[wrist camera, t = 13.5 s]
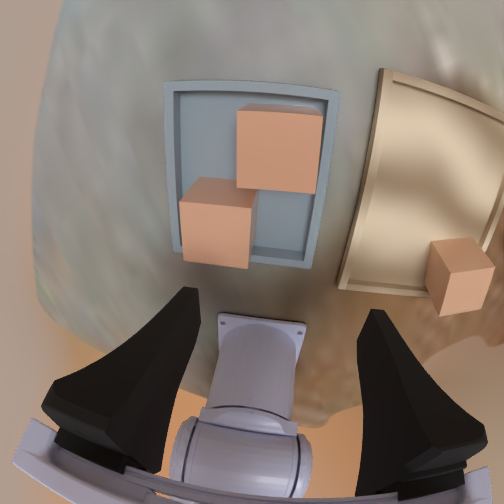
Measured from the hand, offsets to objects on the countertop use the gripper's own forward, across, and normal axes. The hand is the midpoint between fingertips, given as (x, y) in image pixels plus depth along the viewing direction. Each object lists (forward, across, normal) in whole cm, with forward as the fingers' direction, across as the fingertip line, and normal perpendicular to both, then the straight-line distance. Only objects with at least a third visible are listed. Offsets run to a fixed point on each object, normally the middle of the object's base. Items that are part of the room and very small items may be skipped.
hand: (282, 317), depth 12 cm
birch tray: (+10, -10, -2) cm, 15 cm away
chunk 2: (+10, +1, -5) cm, 11 cm away
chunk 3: (+10, -13, +2) cm, 17 cm away
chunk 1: (+10, +4, 0) cm, 10 cm away
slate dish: (+10, +3, -2) cm, 11 cm away
